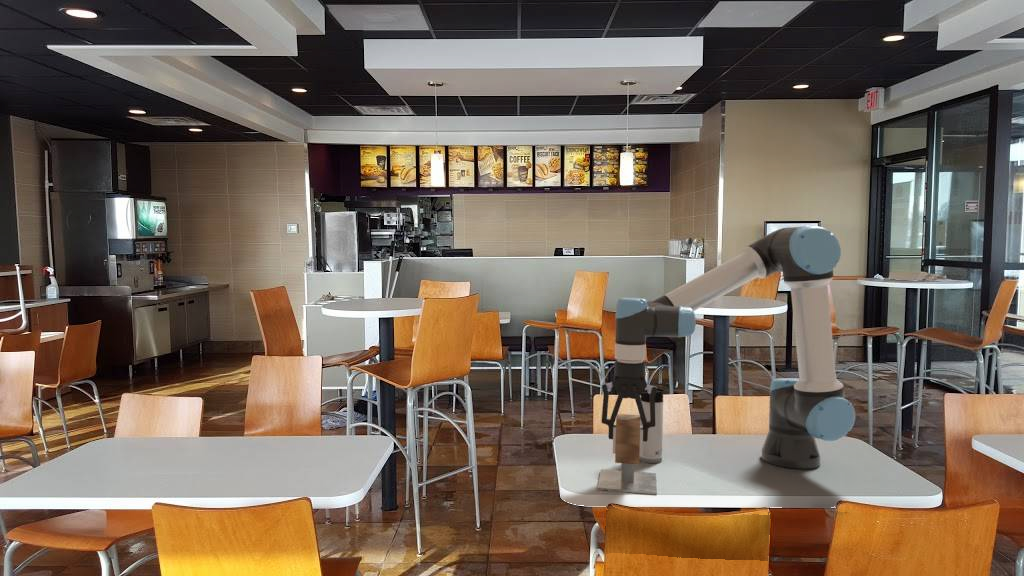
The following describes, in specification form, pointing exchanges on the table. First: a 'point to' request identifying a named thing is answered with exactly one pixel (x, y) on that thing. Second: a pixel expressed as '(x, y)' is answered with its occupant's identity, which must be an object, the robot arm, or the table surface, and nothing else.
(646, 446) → the travel mug
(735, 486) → the table surface
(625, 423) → the tall wooden peg
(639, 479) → the post
